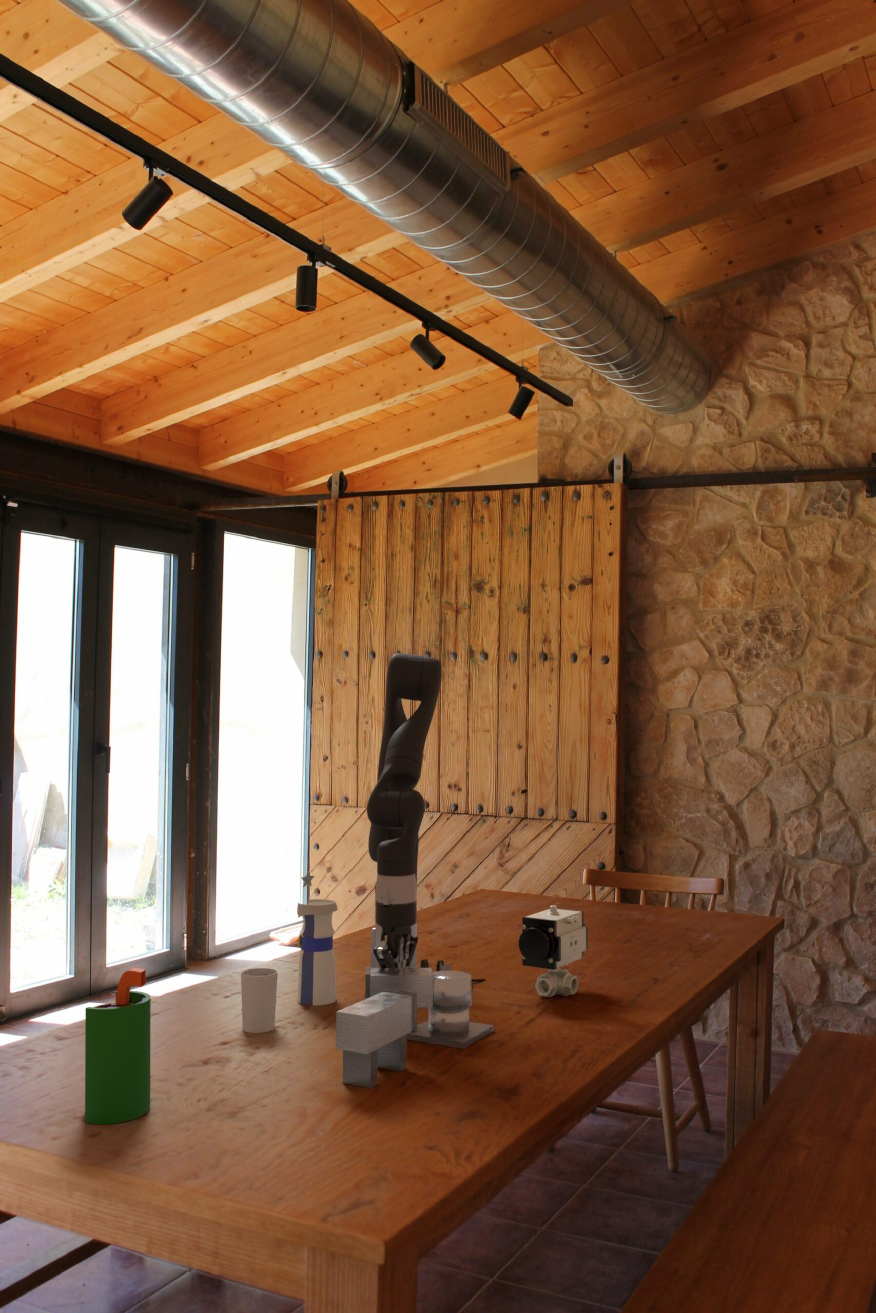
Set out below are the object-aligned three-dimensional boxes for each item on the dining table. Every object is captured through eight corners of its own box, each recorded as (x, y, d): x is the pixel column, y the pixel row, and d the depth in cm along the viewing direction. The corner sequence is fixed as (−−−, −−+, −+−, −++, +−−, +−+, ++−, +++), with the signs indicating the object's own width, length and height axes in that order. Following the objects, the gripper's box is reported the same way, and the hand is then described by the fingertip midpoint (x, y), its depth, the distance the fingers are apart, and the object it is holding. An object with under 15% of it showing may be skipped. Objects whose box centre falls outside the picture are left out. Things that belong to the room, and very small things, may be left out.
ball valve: (555, 1006, 213) (555, 914, 214) (517, 1000, 217) (517, 910, 218) (594, 987, 228) (593, 901, 229) (557, 982, 232) (557, 898, 233)
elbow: (469, 998, 198) (469, 964, 198) (473, 1010, 190) (473, 974, 191) (365, 999, 197) (365, 965, 197) (365, 1011, 189) (365, 975, 189)
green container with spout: (93, 1099, 160) (96, 961, 161) (155, 1097, 161) (158, 960, 162) (76, 1125, 150) (80, 977, 151) (143, 1123, 151) (145, 976, 152)
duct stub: (402, 1038, 191) (402, 1009, 191) (434, 1021, 202) (435, 994, 202) (463, 1048, 186) (463, 1018, 186) (493, 1030, 196) (493, 1002, 196)
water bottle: (285, 1002, 215) (287, 874, 216) (310, 993, 222) (311, 869, 224) (320, 1008, 211) (322, 877, 212) (344, 998, 219) (345, 872, 220)
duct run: (368, 1091, 164) (369, 1014, 165) (334, 1085, 167) (334, 1009, 168) (416, 1064, 177) (417, 992, 178) (383, 1058, 180) (384, 988, 181)
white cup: (262, 1020, 202) (263, 966, 202) (284, 1028, 197) (285, 972, 198) (232, 1027, 197) (233, 971, 198) (253, 1035, 193) (254, 978, 193)
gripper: (396, 890, 208) (396, 982, 208) (359, 902, 197) (359, 999, 196) (431, 894, 205) (431, 987, 204) (396, 906, 193) (396, 1005, 193)
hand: (396, 993), depth 200 cm, fingers closed
